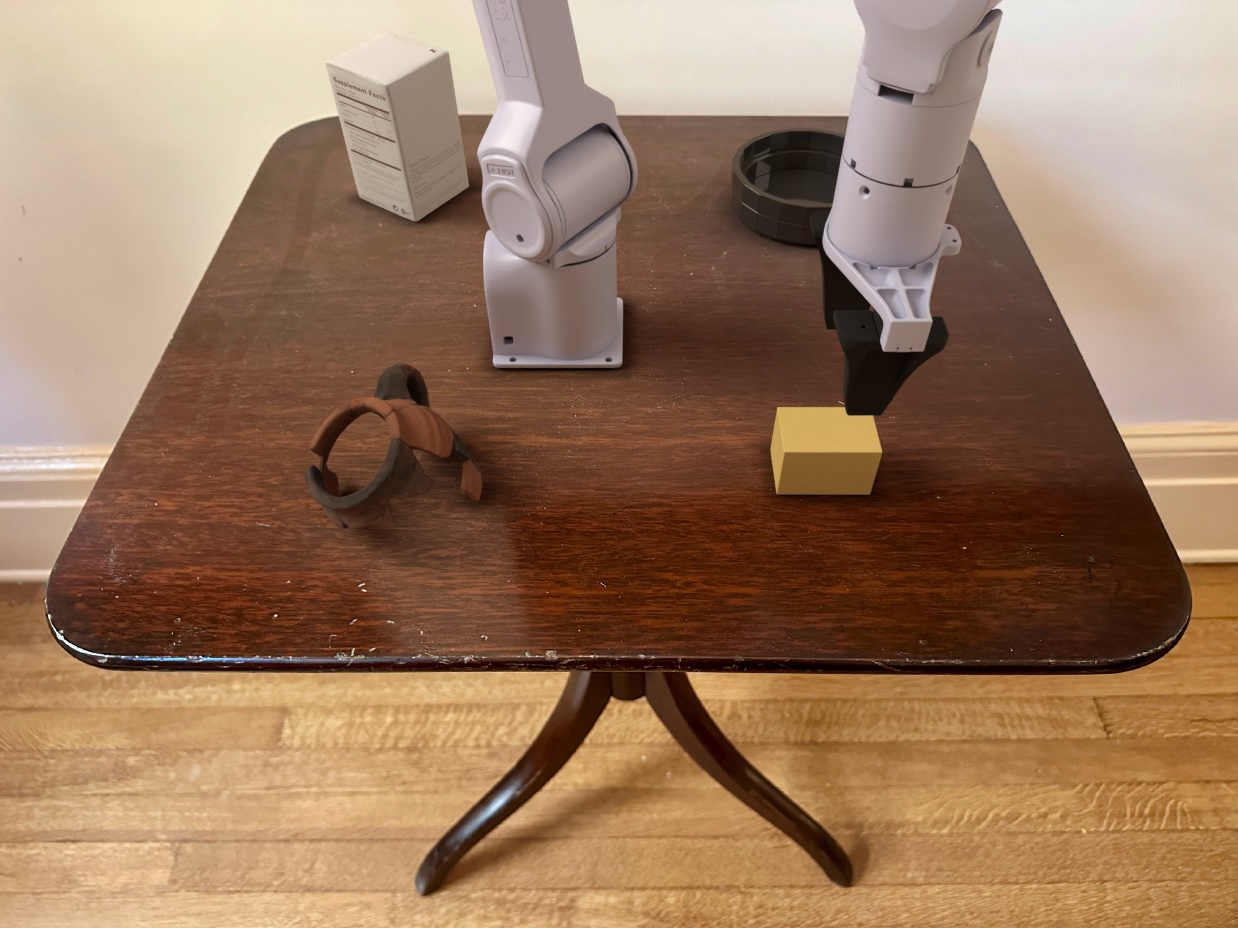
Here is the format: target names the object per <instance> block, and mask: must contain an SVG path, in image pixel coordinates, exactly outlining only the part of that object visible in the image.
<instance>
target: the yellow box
mask: <svg viewBox="0 0 1238 928" xmlns="http://www.w3.org/2000/svg"><path fill="white" fill-rule="evenodd" d="M773 425H774V426H773V432H772V437H771V443H770V456H771V457H770V458H771V465H772V470H773V478H774V485H775V486H774V487H775V492H776V495H804V496H805V495H807V496H809V495H811V496H813V495H814V496H815V495H817V496H819V495H826V496H827V495H832V496H833V495H838V496H839V495H840V496H841V495H842V496H843V495H845V496H847V495H848V496H852V495H853V496H856V495H857V496H859V495H860V496H862V495H863V496H869V495H871V492H872V490H873V489H872V488H873V485H874V482H875V479H876V475H877V472H878V469H879V465H880V462H881V459H882V454H883V449H882V445H881V441H880V437H879V433H878V430H877V425H876V421H875V418H874V416H849V415H847V414H846V410H845V406H777V408H776V414H775V418H774V424H773Z"/></svg>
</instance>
